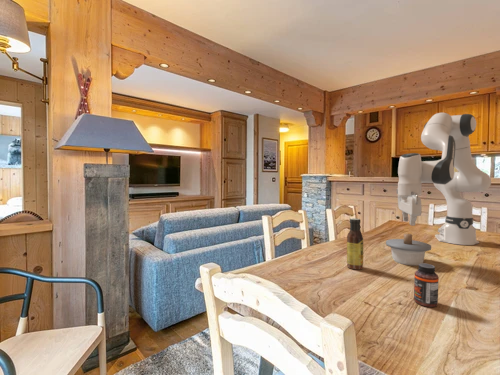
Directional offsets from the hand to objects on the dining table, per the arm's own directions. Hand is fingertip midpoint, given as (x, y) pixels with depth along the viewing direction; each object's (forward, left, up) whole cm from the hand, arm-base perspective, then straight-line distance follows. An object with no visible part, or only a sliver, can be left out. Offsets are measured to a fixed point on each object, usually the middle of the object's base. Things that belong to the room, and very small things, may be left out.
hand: (408, 223), depth 118 cm
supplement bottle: (+42, -7, -17) cm, 45 cm away
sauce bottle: (+14, -23, -17) cm, 32 cm away
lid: (0, 0, -10) cm, 10 cm away
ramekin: (0, 0, -17) cm, 17 cm away
